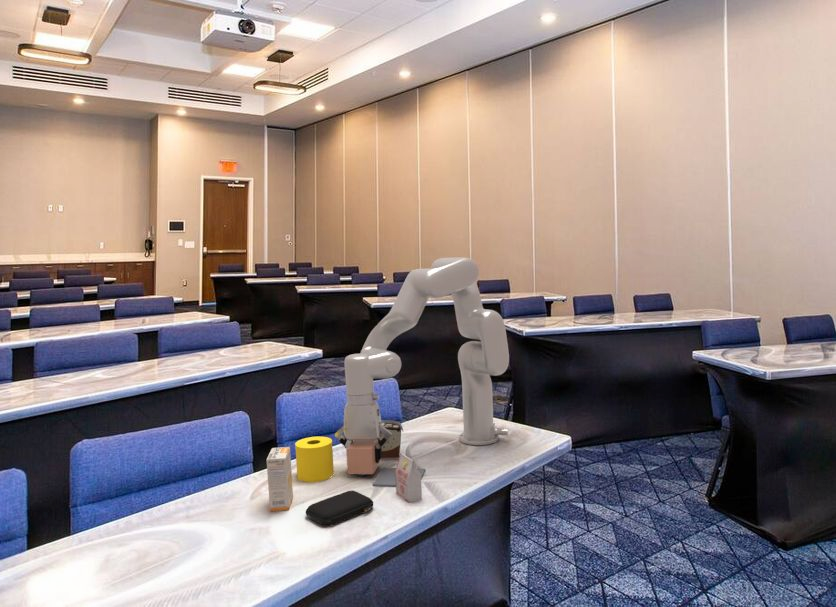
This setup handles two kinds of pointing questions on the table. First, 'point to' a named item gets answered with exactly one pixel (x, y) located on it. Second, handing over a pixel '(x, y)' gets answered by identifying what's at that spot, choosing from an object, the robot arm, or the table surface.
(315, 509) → the carrying case or bag
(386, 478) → the slate coaster
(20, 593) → the table surface
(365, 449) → the terracotta block
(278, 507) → the supplement box
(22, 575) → the table surface
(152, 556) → the table surface
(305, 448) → the yellow toilet paper roll
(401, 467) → the tea bag
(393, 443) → the food container
